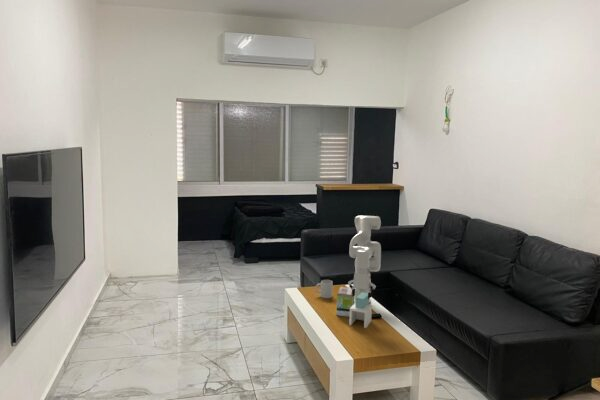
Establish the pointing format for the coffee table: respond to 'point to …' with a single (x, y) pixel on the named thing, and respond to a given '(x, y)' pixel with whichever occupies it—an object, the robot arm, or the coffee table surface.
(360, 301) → the pale blue rectangular block
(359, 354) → the coffee table surface
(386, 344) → the coffee table surface
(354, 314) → the white arch block
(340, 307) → the tea box
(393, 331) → the coffee table surface
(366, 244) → the robot arm
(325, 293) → the mug
